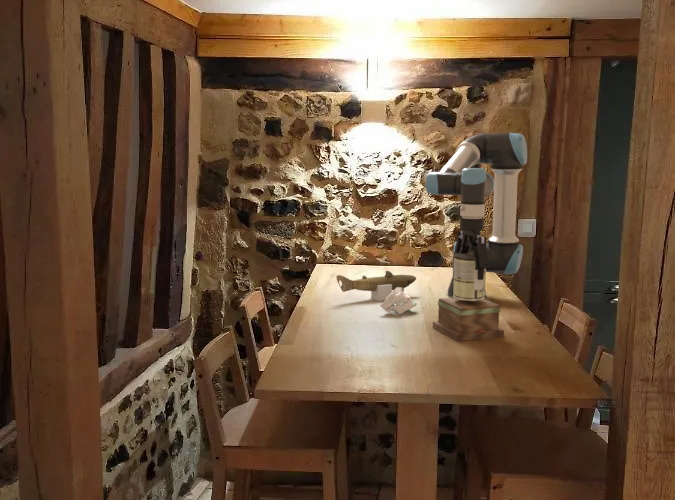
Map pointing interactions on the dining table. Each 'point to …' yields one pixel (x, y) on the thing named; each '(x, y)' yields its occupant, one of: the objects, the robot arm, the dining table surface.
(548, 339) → the dining table surface
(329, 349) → the dining table surface
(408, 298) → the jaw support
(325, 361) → the dining table surface
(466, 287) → the coffee can
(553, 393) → the dining table surface
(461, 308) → the stand
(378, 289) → the wood carving
